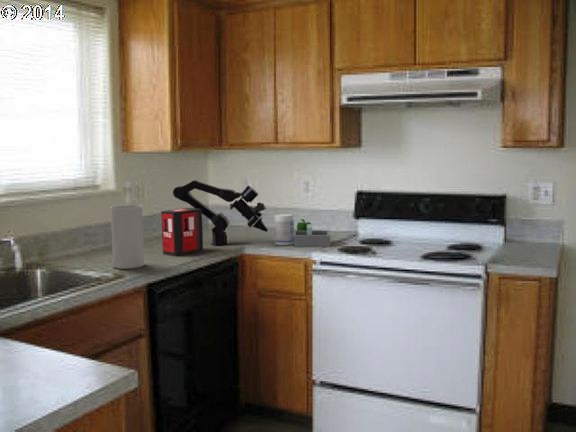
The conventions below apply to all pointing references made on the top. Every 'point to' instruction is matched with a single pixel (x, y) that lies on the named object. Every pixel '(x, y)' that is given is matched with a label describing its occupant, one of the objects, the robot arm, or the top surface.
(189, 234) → the cleaning product box
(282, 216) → the supplement tub
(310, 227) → the plate
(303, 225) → the bell pepper
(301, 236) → the grey tray
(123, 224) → the cylinder vase
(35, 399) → the top surface
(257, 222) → the robot arm
